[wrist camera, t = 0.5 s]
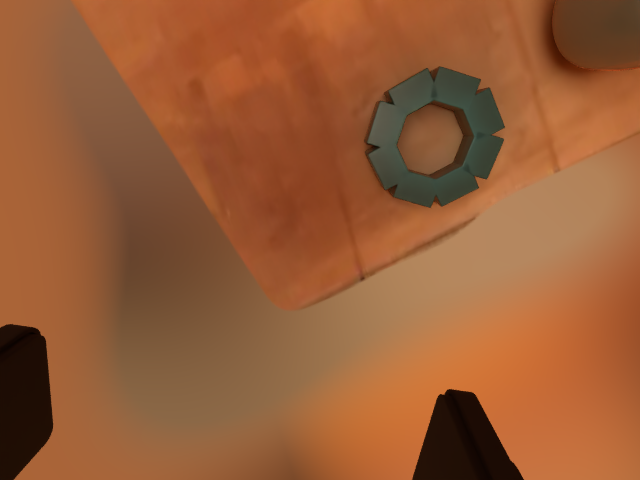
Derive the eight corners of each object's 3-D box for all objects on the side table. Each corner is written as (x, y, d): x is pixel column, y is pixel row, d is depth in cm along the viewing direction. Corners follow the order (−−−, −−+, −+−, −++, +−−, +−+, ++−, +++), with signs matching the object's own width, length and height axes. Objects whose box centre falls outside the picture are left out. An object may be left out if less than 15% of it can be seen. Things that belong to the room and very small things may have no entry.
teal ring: (390, 57, 27) (395, 51, 25) (510, 95, 28) (524, 93, 26) (351, 180, 30) (352, 185, 28) (460, 213, 31) (470, 219, 29)
